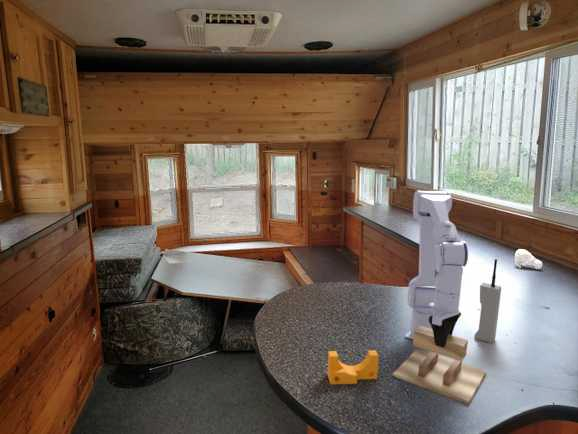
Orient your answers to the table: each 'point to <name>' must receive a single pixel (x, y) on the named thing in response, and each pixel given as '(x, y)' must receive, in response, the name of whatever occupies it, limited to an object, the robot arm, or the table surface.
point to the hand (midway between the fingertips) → (442, 342)
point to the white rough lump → (526, 259)
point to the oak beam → (425, 340)
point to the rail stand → (441, 375)
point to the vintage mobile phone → (489, 309)
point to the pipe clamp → (352, 369)
